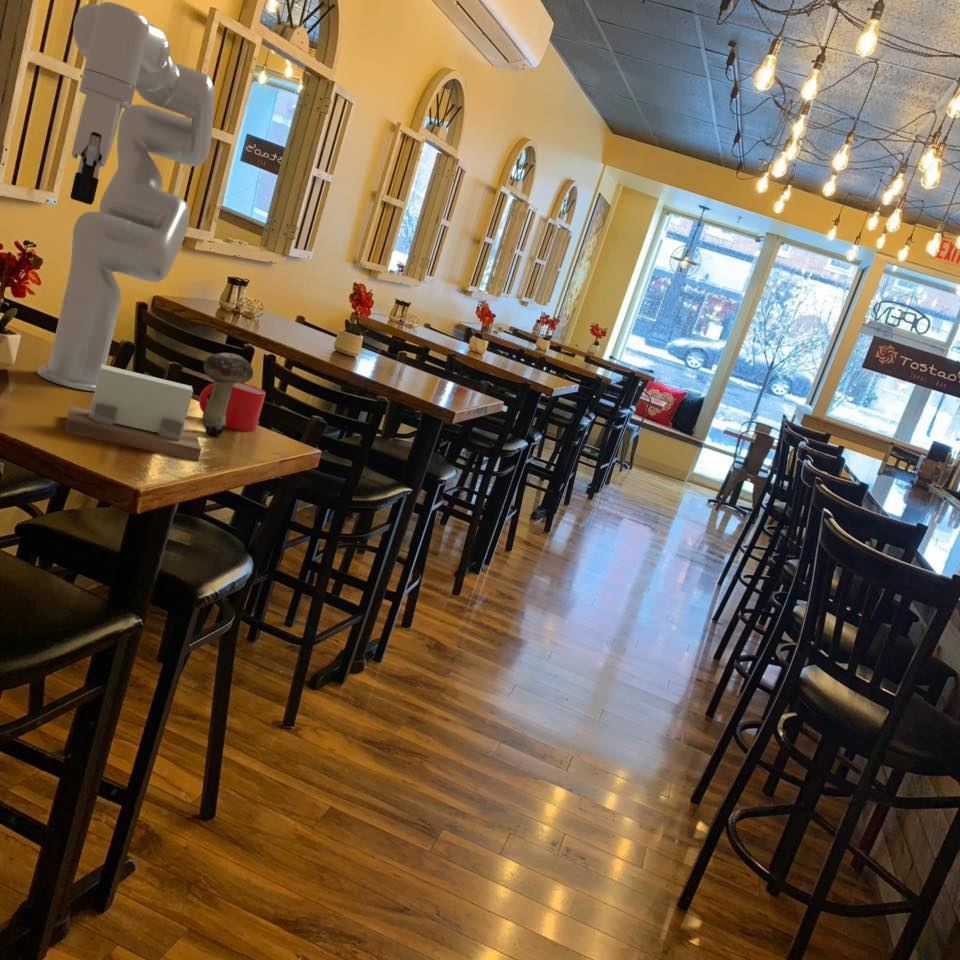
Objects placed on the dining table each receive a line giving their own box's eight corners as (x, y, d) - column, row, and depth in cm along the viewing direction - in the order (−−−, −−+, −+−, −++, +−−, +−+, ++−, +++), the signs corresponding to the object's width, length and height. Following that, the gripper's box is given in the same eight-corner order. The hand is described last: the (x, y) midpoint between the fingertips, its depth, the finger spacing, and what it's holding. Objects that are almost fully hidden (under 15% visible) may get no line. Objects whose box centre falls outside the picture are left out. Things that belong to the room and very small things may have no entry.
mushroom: (221, 429, 176) (242, 353, 173) (244, 444, 171) (266, 365, 168) (176, 423, 169) (196, 343, 166) (198, 438, 164) (220, 356, 161)
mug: (190, 411, 182) (200, 373, 181) (249, 423, 189) (259, 386, 187) (199, 422, 176) (209, 382, 174) (260, 434, 182) (270, 396, 181)
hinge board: (67, 417, 150) (74, 387, 149) (193, 444, 158) (200, 416, 158) (64, 432, 141) (71, 401, 140) (198, 460, 150) (205, 431, 149)
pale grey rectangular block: (89, 412, 148) (101, 363, 147) (179, 432, 154) (191, 385, 153) (89, 417, 145) (101, 368, 144) (180, 437, 151) (193, 390, 149)
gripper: (82, 86, 150) (59, 191, 153) (79, 76, 135) (53, 194, 138) (131, 103, 153) (107, 206, 156) (133, 96, 138) (106, 210, 141)
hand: (82, 200), depth 147 cm, fingers open, 9 cm apart
